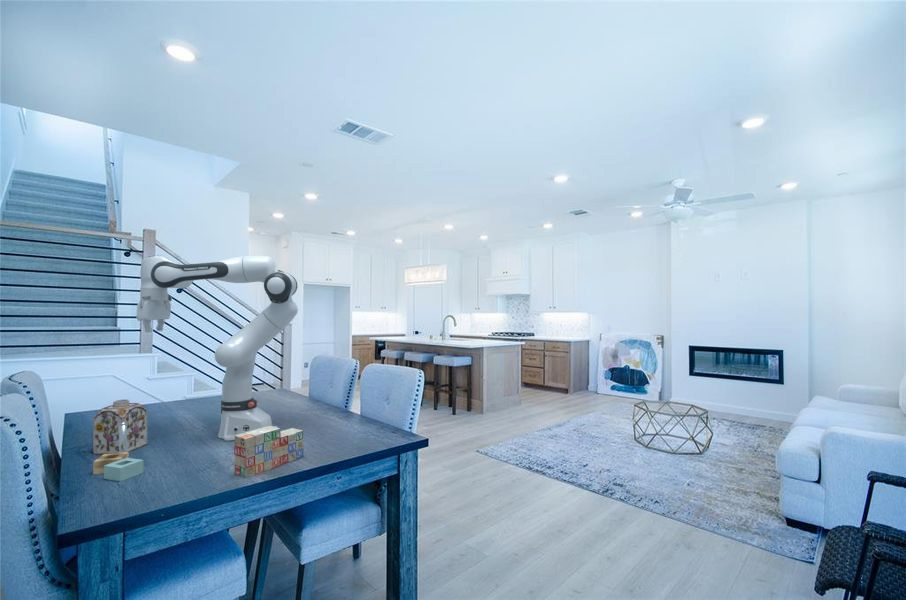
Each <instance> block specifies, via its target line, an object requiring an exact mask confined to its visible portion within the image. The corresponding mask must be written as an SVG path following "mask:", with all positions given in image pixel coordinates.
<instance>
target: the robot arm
mask: <svg viewBox="0 0 906 600" xmlns="http://www.w3.org/2000/svg"><path fill="white" fill-rule="evenodd" d="M139 272H140V274H139V275H140V278H139V279H140V281H141V285H140V290H139V291H140V295H139V296H140V297H139V298H140V300H139V301H138V302H137V306H136V320H137V321H140V322H142V324H143V328H144V332H145V333H152V331H153V328H152V327H151V323H152V322H151V321H156V322H157V326H156V327H155V329H156V331H157V332H162V331H163V330H164V324H165V323H166V322H165V321H166V320H170V317H171V312H172V311H171V310H172V304H171V302H172V301H173V297H172V296H171V294H169V292H168V289H171V288H172V289H185V288H189V287H190V286H191V285H192V284H193V282H194V281H200V280H215V281H220V282H225V283H232V284H233V283H234V284H247V283H255V282H256V283H257V282H259V283H263V288H264V291H265V294H267V295H266V296H267V298H268V299H269V301H270V302H271V303H270V304H269V305H268V306H267V307H266V308H265V309H263V310H262V311H261V312H260V313H259V314H258V315H257V316H255V318H253V319H252V320H251V321H250V322H249V323H248V324H246V325H245V326H243V327H242V328H240V330H237V332H236V333H234V334H232V336H230V337H229V338H228V339H226V340H225V341H223V343H221V344H220V345H219V346H218V347H217V348H216V349H215V352H214V360H215V362H216V363H217V364H218V365H219V366H220V367H223V368H225V369H226V370H225V372H224V373H225V374H224V377H223V379H222V382H221V384H222V385H221V386H222V387H221V395H222V396H221V401H220V413H221V419H220V420H221V421H220V425H219V428H218V429H219V431H218V434H217V438H220V439H222V440H224V441H226V442H227V441H235V435H238V434H242V433H246V432H249V431H253V430H256V429H260V428H263V427H267V426H272V427H276V428H279V427H278V426H277V425H273V421H272V417H271V415H270V414H268V413H267V412H265V411H264V410H262V409H261V408H259V407H258V402H259V399H255V398H253V378H254V371H255V364H256V357H257V353H258V351H259V350H261V349H262V348H263V347H265V346H267V344H269V343H270V342H271V341H272V340H273V339H274V338H275V337H277V335H279V334H280V332H282V331H283V330H284V329H285V328H286V327H287V326H289V324H290V323H291V322H292V321H293V319H295V317H296V316H297V314H298V310H299V309H298V306H297V304H296V303H295V301H294V300H293V299H292V296H293V295H295V294H296V292H297V289H298V282H297V279H296V277H294V275H291V274H290V273H288V272H285V271H282V270H280V269H278V270H277V266H276V263H275V261H274V259H273V258H272V257H271V256H267V255H242V256H241V255H240V256H235V257H230V258H225V259H221V260H215V261H212V262H211V261H210V262H201V263H189V264H187V263H186V264H180V263H177V262H174V261H172V260H170V259H168V258H167V257H166V256H163V255H150V256H146V257H145V258H143V259H142V261H141V264H140V271H139Z"/></svg>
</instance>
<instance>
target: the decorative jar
mask: <svg viewBox="0 0 906 600" xmlns="http://www.w3.org/2000/svg"><path fill="white" fill-rule="evenodd" d="M112 402H113V403H112V404H110V405H108V406H104V407H102V408H101V409H100V410H98V412H97V413H96V414H95V415H94V416H93V428H92V429H93V431H92V432H93V433H92V434H93V435H92V436H93V437H92V438H93V439H92V441H93V442H92V443H93V444H92V446H93V449H92V451H93V454H94V455H103V454H112V453H119V424H120V423H122V422H126V423H127V452H129V453H130V452H132V451H134V450H137V449H139V448H141V447H144V446H146V445H148V412H147V411H148V409H147V408H146V406H143V405H142V404H140V403H139V402H130V399H115V400H113V401H112Z"/></svg>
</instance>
